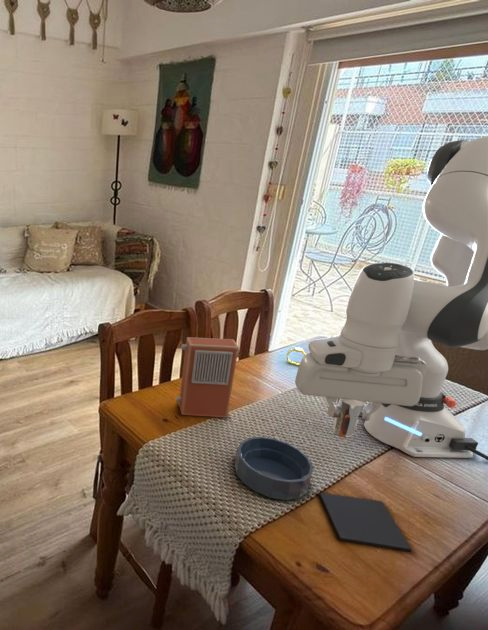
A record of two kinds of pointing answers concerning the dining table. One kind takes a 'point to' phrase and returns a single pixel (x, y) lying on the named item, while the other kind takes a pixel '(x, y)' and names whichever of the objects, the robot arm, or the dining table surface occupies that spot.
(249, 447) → the dish
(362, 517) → the mat
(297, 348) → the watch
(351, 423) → the milkshake
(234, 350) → the pink box with grille
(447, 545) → the dining table surface
